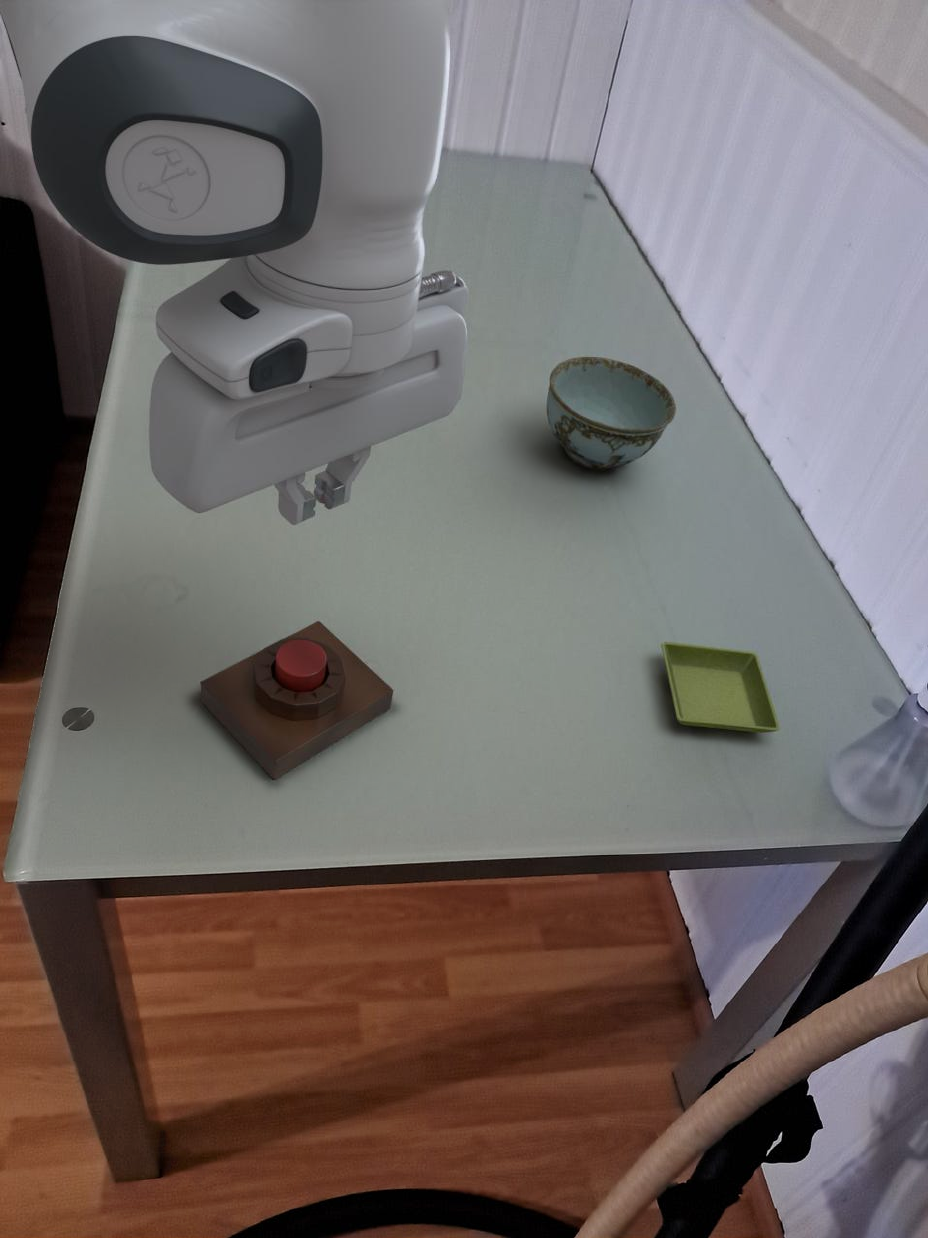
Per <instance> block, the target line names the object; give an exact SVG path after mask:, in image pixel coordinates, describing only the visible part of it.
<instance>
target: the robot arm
mask: <svg viewBox="0 0 928 1238" xmlns="http://www.w3.org/2000/svg"><path fill="white" fill-rule="evenodd" d="M449 9H450V8H449V5H448V0H0V18H1V19H2V22H3V25H4V28H5V32H6V35H7V38H8V41H9V45H10V48H11V51H12V54H13V57H14V60H15V64H16V67H17V71H18V74H19V78H20V80H21V84H22V89H23V97H24V104H25V108H24V111H25V114H26V123H27V130H28V136H29V139H30V144H31V153H32V157H33V158H32V159H33V163H34V167H35V169H36V173H37V176H38V179H39V181H40V184H41V186H42V187H43V189H44V192H45V193H46V196H48V198H49V200H50V202H51V204H52V205H53V207H54V208H55V209H56V210H57V212H58V213H59V214H60V215H61V217H62V218H63V219H64V220H65V222H67V223H68V224H69V226H71V227H72V228H73V230H75V231H76V232H77V233H78V234H79V235H81V236H82V237H83V238H84V239H86V240H87V241H89V242H90V243H92V244H93V245H95V246H96V247H98V248H100V249H101V250H104V251H105V252H107V253H110V254H112V255H114V256H117V257H118V258H122V259H125V260H128V261H132V262H135V263H141V264H146V265H155V266H156V265H158V266H159V265H160V266H167V265H168V266H170V265H182V264H183V265H185V264H192V263H193V264H194V263H196V264H197V263H204V262H213V261H220V260H221V261H222V260H227V259H228V260H227V261H225V263H223V264H222V265H220V266H219V267H217V268H216V269H215V270H214V271H212V272H210V273H209V274H208V275H206V276H204V277H203V278H201V279H200V280H198V281H196V282H195V283H193V284H191V285H190V286H188V287H187V288H185V289H183V290H181V291H179V292H178V293H176V294H174V295H173V296H171V297H169V298H168V299H167V300H164V302H162V303H161V304H160V306H159V307H158V308H157V310H156V314H155V330H156V334H157V337H158V339H159V341H161V342H162V344H163V345H165V347H166V348H167V349H168V350H169V353H168V354H167V355H166V356H165V357H164V358H163V360H162V361H161V362H160V363H159V365H158V367H157V369H156V371H155V373H154V375H153V379H152V383H151V389H150V399H149V416H148V417H149V418H148V419H149V420H148V421H149V422H148V441H149V442H148V443H149V445H148V446H149V459H150V467H151V471H152V474H153V476H154V478H155V480H156V481H157V482H158V483H159V485H160V486H161V487H162V488H163V489H164V491H166V492H167V493H168V494H169V495H170V496H172V498H174V499H175V500H176V501H177V502H178V503H179V504H181V505H183V506H184V507H185V508H187V509H188V510H190V511H191V512H194V513H197V514H203V513H206V512H209V511H211V510H214V509H216V508H218V507H221V506H224V505H227V504H229V503H231V502H234V501H236V500H239V499H242V498H244V497H246V496H249V495H251V494H253V493H257V492H259V491H262V490H264V489H267V488H269V487H271V486H274V487H275V489H276V490H277V492H278V502H277V508H278V512H279V514H280V515H281V517H282V518H284V519H285V520H286V522H288V523H289V524H291V525H292V526H297V525H298V524H300V523H302V522H305V521H307V520H309V519H311V518H313V517H315V515H316V510H315V508H316V505H317V502H319V504H322V505H324V508H326V509H327V510H332V509H335V508H337V507H340V506H342V505H344V504H348V503H349V502H350V499H351V493H352V485H353V483H354V481H355V480H356V478H357V477H358V475H359V474H360V472H361V471H362V469H363V467H364V466H365V464H366V463H367V461H368V459H369V458H370V456H371V451H372V447H373V446H375V445H378V444H380V443H383V442H385V441H388V440H391V439H394V438H395V437H398V436H400V435H403V434H406V433H408V432H410V431H413V430H416V429H418V428H420V427H424V426H426V425H428V424H431V423H434V422H436V421H438V420H441V419H443V418H446V417H448V416H449V415H451V413H452V412H453V411H454V409H455V408H456V407H457V405H458V404H459V401H460V400H461V397H462V393H463V388H464V380H465V373H466V362H467V350H468V330H467V329H468V328H467V324H466V321H465V315H466V311H467V305H468V299H469V289H468V287H467V286H466V283H465V281H464V280H463V278H461V277H460V276H458V275H456V274H455V273H454V272H453V271H452V270H450V269H449V270H446V269H444V270H443V269H442V270H437V271H435V272H433V273H430V274H429V275H426V276H423V274H424V267H425V259H426V245H425V238H424V229H423V227H424V225H423V224H424V222H423V221H424V214H425V209H426V206H427V203H428V200H429V198H430V196H431V194H432V191H433V190H434V188H435V184H436V182H437V179H438V175H439V170H440V165H441V163H440V162H441V156H442V150H443V142H444V134H445V126H446V117H447V108H448V99H449V98H448V97H449V87H450V86H449V85H450V71H451V18H450V10H449ZM325 465H327V466H326V468H325V470H323V471H321V472H319V473H316V474H315V477H314V484H315V487H314V489H313V493H312V492H311V491H310V490H306V486H305V485H303V484H302V483H304V482H305V480H306V473H307V472H309V471H313V470H315V469H318V468H320V467H322V466H325Z"/></svg>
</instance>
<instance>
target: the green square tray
mask: <svg viewBox="0 0 928 1238" xmlns="http://www.w3.org/2000/svg"><path fill="white" fill-rule="evenodd" d="M661 651H662V656H663V660H664V665H665V669H666V670H665V671H666V674H667V679H668V683H669V689H670V693H671V698H672V703H673V708H674V713H675V716H676V720H677V722H678V723H679V724H680V725H683V726H690V727H700V728H710V729H718V730H719V729H721V730H729V731H739V732H749V733H759V734H760V733H763V734H764V733H773V732H777V731H779V730H780V724H779V721H778V717H777V714H776V710H775V708H774V704H773V701H772V698H771V695H770V693H769V689H768V686H767V683H766V679H765V676H764V672H763V670H762V665H761V662H760V659H759V657H758V656H759V655H758V654H757V653H755V652H752V651H748V650H741V649H740V650H739V649H732V648H721V647H713V646H704V645H698V644H697V645H696V644H688V643H680V642H673V641H664V642H662V643H661Z"/></svg>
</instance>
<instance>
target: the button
mask: <svg viewBox="0 0 928 1238" xmlns="http://www.w3.org/2000/svg"><path fill="white" fill-rule="evenodd" d="M325 669H326V654H325V652H324V651H323V649H322V648H321V647H320V646H319V645H317V644H315V643H313V642H311V641H307V640H293V641H290V642H287V643H285V644H284V645H282V646H281V647H280V648H279V650H278V651H277V654H276V664H275V676H276V679H277V680H278V682H279V683H280V684H281V685H282V686H283V687H285V688H287V689H289V690H292V691H296V692H305V691H310V690H313V689H315V688H316V687H318V686H319V685H320V684H321V683H322V681H323V680H324V677H325Z"/></svg>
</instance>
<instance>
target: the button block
mask: <svg viewBox="0 0 928 1238" xmlns="http://www.w3.org/2000/svg"><path fill="white" fill-rule="evenodd" d="M293 640H307V641H311V642H313V643H315V644H317V645H319V646H320V647H321V648H322V649H323V651H324V652H325V654H326V669H325V677H324V680H323V681H322V683H321V684H320V685H319V686H318V687H316V688H315V689H313V690H310V691H305V692H296V691H292V690H289V689H287V688H285V687H283V686H282V685H281V684H280V683H279V682H278V680H277V679H276V676H275V664H276V654H277V651H278V650H279V648H280V647H281V646H282V645H284V644H285V643H287V642H290V641H293ZM199 684H200V702H201V703H202V704H203V705H204V706H205V707H206V708H207V710H208V711H210V713H211V714H212V715H213V716H214V717H215V718H216V719H217V720H218V722H219V723H220V724H222V726H223V727H224V728H225V729H226V730H227V731H228V732H229V733H230V734H231V735H232V737H233V738H234V739H236V741H238V743H239V744H240V745H241V746H242V747H243V748H244V749H245V750H246V751H247V752H248V754H249V755H250V756H251V757H252V758H253V759H254V760H255V761H256V762H257V763H258V764H259V765H260V766H261V768H262V769H263V770H264V771H265V773H267V774H268V775H269V776H270V777H271V778H272V779H273V780H274V781H276V780H277V779H279V778H281V777H282V776H284V775H285V774H287V773H288V772H290V771H292V770H293V769H295V768H297V767H298V766H300V765H301V764H303V763H305V762H306V761H308V760H309V759H312V758H313V757H315V756H316V755H317V754H319V753H320V752H322V751H324V750H326V749H327V748H329V747H330V746H332V745H333V744H335V743H337V742H339V741H340V740H342V739H344V738H345V737H347V736H349V735H350V734H351V733H353V732H355V731H356V730H358V729H360V728H361V727H363V726H364V725H366V724H367V723H369V722H371V721H372V720H374V719H375V718H377V717H379V716H380V715H382V714H384V713H385V712H386V711H388V710H390V709H391V707H392V700H393V695H394V688H392V687H391V686H390V685H389V684H388V683H387V682H386V681H385V680H384V679H382V678H381V677H380V676H379V674H377V673H376V672H375V671H374V670H373V669H371V668H370V666H368V665H367V664H366V663H365V662H364V661H363V660H362V659H361V658H360V657H359V656H357V655H356V654H355V653H354V652H353V651H352V650H351V649H350V648H349V647H348V646H347V645H346V644H345V643H344V642H342V640H341V639H339V638H338V637H337V635H335V634H334V633H333V632H332V631H331V630H330V629H329V628H328V627H326V625H325V624H323V623H322V622H321V621H320V620H317V621H315V622H313V623H311V624H309V625H307V626H306V627H304V628H302V629H300V630H298V631H296V632H294V633H292V634H290V635H288V636H286V637H284V638H281V639H279V640H277V641H275V642H273V643H272V644H269V645H268V646H266V647H264V648H262V649H261V650H259V651H257V652H256V653H255V652H254V654H252V655H250V656H248V657H246V658H243V659H242V660H239V661H238V662H236V663H234V664H233V665H230V666H228V667H227V668H224V669H223V670H221V671H219V672H217V673H215V674H213V675H211V676H209V677H207V678H205V679H203V680H202V681H200V683H199Z"/></svg>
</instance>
